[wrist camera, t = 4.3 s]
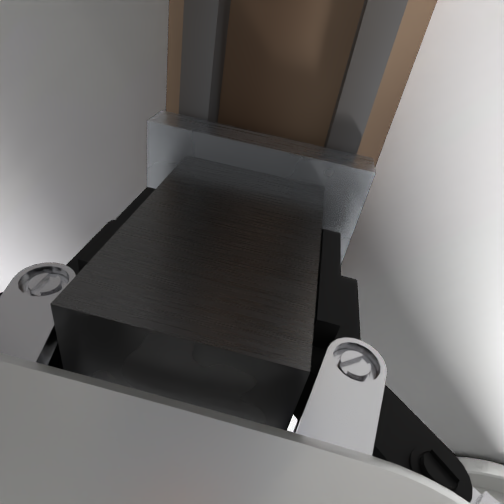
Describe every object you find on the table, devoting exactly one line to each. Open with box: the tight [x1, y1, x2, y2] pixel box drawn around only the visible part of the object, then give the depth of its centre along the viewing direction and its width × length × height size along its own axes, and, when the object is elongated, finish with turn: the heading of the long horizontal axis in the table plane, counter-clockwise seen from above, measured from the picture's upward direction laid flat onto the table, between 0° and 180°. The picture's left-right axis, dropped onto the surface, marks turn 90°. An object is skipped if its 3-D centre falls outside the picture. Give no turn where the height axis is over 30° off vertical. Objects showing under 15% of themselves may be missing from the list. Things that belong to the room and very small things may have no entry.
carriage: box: [50, 110, 376, 431], centre depth 11 cm, size 7×6×10 cm
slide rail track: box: [166, 0, 437, 166], centre depth 11 cm, size 8×22×4 cm, turn 170°
